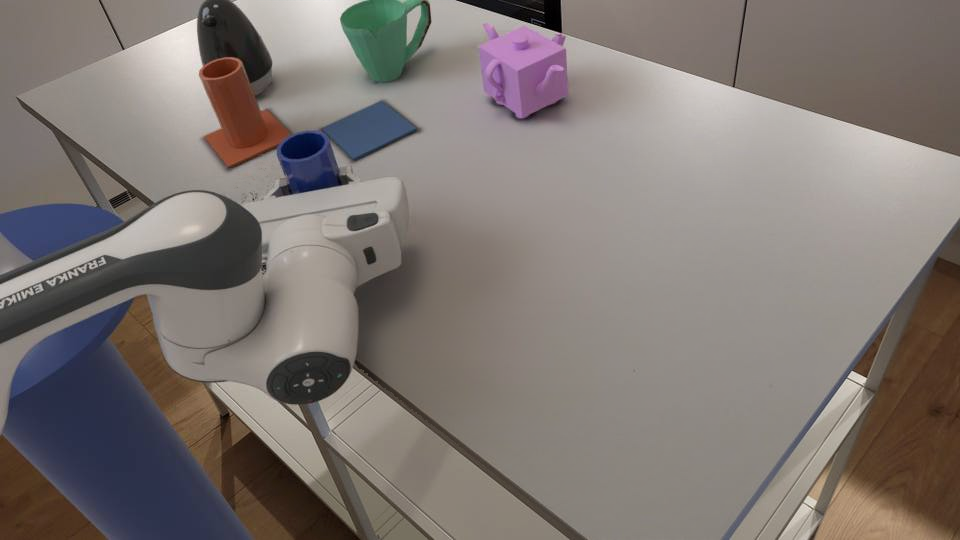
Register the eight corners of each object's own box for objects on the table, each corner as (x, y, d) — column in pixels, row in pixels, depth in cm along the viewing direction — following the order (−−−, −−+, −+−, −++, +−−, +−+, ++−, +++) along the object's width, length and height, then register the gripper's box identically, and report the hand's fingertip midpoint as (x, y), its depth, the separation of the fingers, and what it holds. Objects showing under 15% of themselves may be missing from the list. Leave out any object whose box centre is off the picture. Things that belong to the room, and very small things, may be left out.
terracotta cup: (236, 153, 106) (207, 84, 98) (222, 136, 110) (192, 68, 102) (274, 136, 108) (248, 67, 100) (258, 120, 112) (232, 52, 104)
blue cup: (317, 245, 87) (289, 168, 79) (297, 220, 91) (268, 145, 83) (361, 222, 89) (338, 145, 81) (339, 199, 93) (315, 123, 85)
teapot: (607, 106, 104) (607, 40, 97) (530, 145, 99) (524, 79, 93) (529, 59, 115) (524, -3, 108) (457, 92, 111) (447, 30, 104)
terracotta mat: (228, 168, 104) (227, 166, 104) (204, 138, 111) (203, 136, 110) (294, 139, 107) (293, 136, 107) (267, 111, 114) (266, 108, 114)
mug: (379, 98, 112) (363, 36, 105) (343, 76, 118) (327, 16, 111) (455, 58, 118) (445, -4, 111) (417, 39, 124) (406, -20, 117)
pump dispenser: (207, 112, 116) (166, 19, 105) (225, 76, 123) (189, -14, 113) (271, 106, 115) (236, 11, 104) (286, 70, 122) (254, -21, 111)
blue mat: (354, 161, 102) (353, 158, 102) (322, 130, 108) (321, 128, 108) (416, 130, 105) (416, 128, 105) (382, 102, 112) (381, 100, 111)
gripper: (222, 298, 78) (235, 214, 88) (416, 262, 79) (407, 182, 89) (199, 254, 74) (215, 171, 84) (404, 217, 74) (397, 138, 84)
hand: (315, 176), depth 86 cm, fingers closed on blue cup, 6 cm apart
